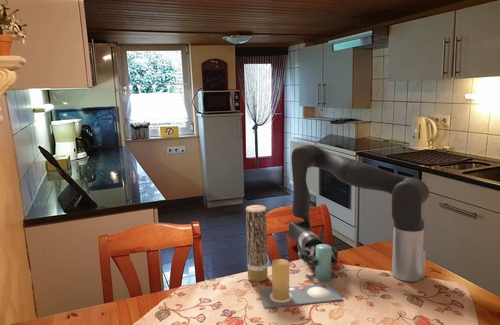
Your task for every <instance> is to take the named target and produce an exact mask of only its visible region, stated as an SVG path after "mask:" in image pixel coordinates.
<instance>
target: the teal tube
mask: <svg viewBox="0 0 500 325" xmlns="http://www.w3.org/2000/svg"><path fill="white" fill-rule="evenodd" d="M331 251H332V246H331V245H330V244H327V243H326V244H325V243H323V244H319V245H316V259H317V261H318V266H315V279H316V280H317V281H319V282H329V281H331V280H332V262H331Z"/></svg>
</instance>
